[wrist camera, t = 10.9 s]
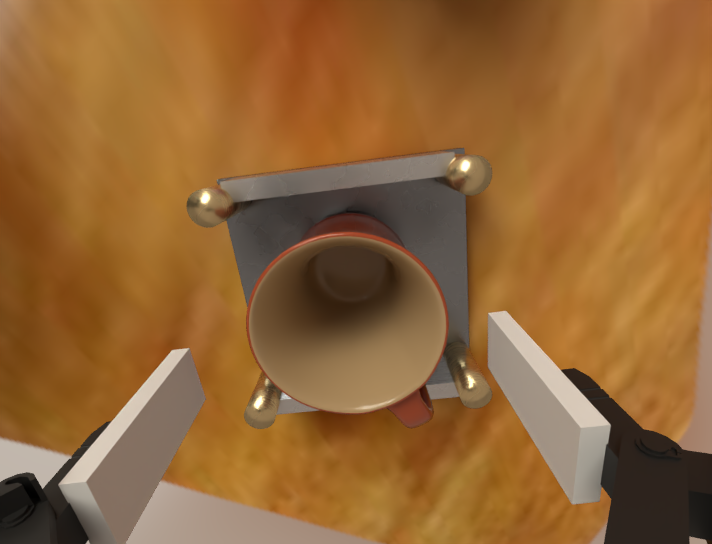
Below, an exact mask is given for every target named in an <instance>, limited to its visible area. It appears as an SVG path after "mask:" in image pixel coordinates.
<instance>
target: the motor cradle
mask: <svg viewBox="0 0 712 544" xmlns="http://www.w3.org/2000/svg"><path fill="white" fill-rule="evenodd" d="M491 178H492V168H491V165H490V163H489V162H488V161H487V160H486V159H485V158H484V157H482V156H478V155H467V154H465V153H464V148H456V149H448V150H440V151H433V152H425V153H417V154H409V155H402V156H394V157H386V158H378V159H370V160H363V161H355V162H347V163H339V164H331V165H324V166H316V167H308V168H300V169H293V170H285V171H277V172H269V173H261V174H254V175H246V176H238V177H230V178H223V179H218V180H217V183H218V185H216V186H212V187H208V188H205V189H201V190H198V191H195V192H194V193H192V194H191V195H190V197H189V198H188V201H187V211H188V214H189V216H190V218H191V219H192V220H193V221H194V222H195V223H196V224H198V225H200V226H202V227H214V226H216V225H218V224H220V223H222V222H224V221H225V220H227V224H228V228H229V233H230V237H231V241H232V245H233V249H234V253H235V257H236V261H237V266H238V270H239V274H240V278H241V282H242V286H243V290H244V294H245V299H246V303H247V307H248V304H249V300H250V296H251V293H252V291H253V289H254V286H255V284H256V282H257V281H258V279H259V277H260V276H261V274H262V273H263V272H264V270H265V269H266V268H267V266H268V265H269V264H270V263H271V262H272V261H273V260H274V259H275V258H277V257H278V256H279V255H280V254H281V253H283V252H284V251H286V250H287V249H288V248H290V247H292V246H293V245H295V244H297V243H299V241H300V240H301V238H302V237H303V236H304V234H305V233H306V232H307V231H308V230H309V229H310V228H311V227H313V226H314V225H315V224H317V223H318V222H320V221H322V220H324V219H325V218H328V217H330V216H333V215H336V214H341V213H360V214H365V215H368V216H371V217H374V218H376V219H378V220H380V221H381V222H383V223H384V224H386V225H387V226H389V227H390V228H391V229H392V230H393V231H394V232H395V233H396V234H397V235H398V236H399V238H400V239H401V241H402V242H403V244H404V246H405V248H406V249H407V250H408V251H410V252H411V253H412V254H413V255H415V256H416V257H417V258H418V259H419V260H420V261H421V262H422V263H423V264H424V265H425V266H426V267H427V268H428V269H429V270H430V272H431V273H432V274H433V276H434V277H435V279H436V280H437V282H438V284H439V286H440V288H441V290H442V292H443V295H444V298H445V301H446V305H447V310H448V317H449V330H448V338H447V344H446V347H445V350H444V353H443V355H442V358H441V360H440V362H439V364H438V366H437V368H436V370H435V371H434V373H433V374H432V376H431V377H430V379H429V380H428V381H427V383H426V387H427V390H428V393H429V396H430V399H441V398H452V397H460V399H461V402H462V403H463V404H464V405H465V406H467V407H469V408H481V407H483V406H485V405H486V404H488V403H489V401H490V400H491V398H492V390H491V388H490V387H489V385H488V383H487V381H486V379H485V377H484V376H483V374H482V372H481V370H480V368H479V366H478V365H477V363H476V361H475V359H474V357H473V355H472V354H471V352H470V350H469V324H468V281H467V238H466V196H465V195H476V194H479V193H481V192H482V191H484V190H485V189H486V188H487V187H488V185H489V184H490V181H491ZM308 411H318V410H317V409H314V408H311V407H309V406H306V405H304V404H301V403H299V402H298V401H296V400H294V399H292V398H290V397H289V396H287V395H286V394H284V393H283V392H282V391H281V390H279V389H278V388H277V387H276V386H275V385H274V384H273V383H272V382H271V381H270V380H269V379H268V378H267V377H266V376H265V374H264V373H263V372H262V373H261V375H260V377H259V380H258V382H257V384H256V387H255V389H254V391H253V394H252V396H251V398H250V401H249V403H248V405H247V408H246V410H245V413H244V418H245V420H246V422H247V423H248V424H249V425H250V426H252V427H254V428H257V429H265V428H268V427H270V426H271V425H272V424H273V423H274V420H275V417H276V415H277V414H287V413H297V412H308Z"/></svg>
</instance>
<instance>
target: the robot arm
mask: <svg viewBox="0 0 712 544" xmlns="http://www.w3.org/2000/svg"><path fill="white" fill-rule="evenodd" d="M488 368H489V370H490V371H491V373H492V374H493V376H494V378H495V379H496V381H497V383H498V384H499V386H500V388H501V389H502V391H503V392H504V394H505V396H506V397H507V399H508V401H509V402H510V404H511V405H512V407H513V409H514V410H515V412H516V414H517V415H518V417H519V419H520V420H521V422H522V423H523V425H524V427H525V428H526V430H527V432H528V433H529V435H530V436H531V438H532V440H533V441H534V443H535V445H536V446H537V448H538V449H539V451H540V453H541V454H542V456H543V458H544V459H545V461H546V463H547V464H548V466H549V467H550V469H551V471H552V472H553V474H554V476H555V477H556V479H557V480H558V482H559V484H560V485H561V487H562V489H563V490H564V492H565V494H566V495H567V497H568V498H569V500H570V502H571V503H572V504H581V503H590V502H599V501H600V494H601V487H603V488H604V490H605V491H606V492H607V494H608V495H609V496H610V498H611V499H612V500H611V506H610V511H609V517H608V523H607V529H606V535H605V542H604V544H689V536H691V537H695V538H700V539H705V540H706V541H707V544H712V454H707V453H700V452H693V451H687V450H683V449H682V448H681V447H680V446H679V445H678V444H677V443H676V442H674V441H672V440H671V439H669V438H668V437H666V436H664V435H661V434H659V433H657V432H654V431H649V430H644V429H642V428H641V427H640V426H639V425H638V424H637V423H636V422H635V421H634V420H633V419H632V418H631V417H630V416H629V415H628V414H627V413H626V412H625V411H624V410H623V409H622V408H621V407H620V406H619V405H618V404H617V403H616V402H615V401H614V400H613V399H612V398H609V395H608V394H607V393H606V392H605V391H604V390H603V389H601V388H600V386H599V385H598V384H597V383H596V382H595V381H594V380H592V379H591V378H590V377H589V376H587V375H586V374H584V373H582V372H580V371H578V370H577V369H575V368H573V369H564V370H560V369H559V368H558V367H557V366H556V365H555V364H554V363H553V362H552V360H551V359H550V358H549V357H548V356H547V355H546V354H545V353H544V352H543V351H542V350H541V349H540V347H539V346H538V345H537V344H536V343H535V342H534V341H533V340H532V339H531V338H530V337H529V336H528V334H527V333H526V332H525V331H524V330H523V329H522V328H521V327H520V326H519V325H518V324H517V322H516V321H515V320H514V319H513V318H512V317H511V316H510V315H509V314H508V313H507V312H506V311H501V312H493V313H488ZM205 400H206V398H205V395H204V392H203V389H202V386H201V383H200V380H199V376H198V373H197V370H196V367H195V364H194V361H193V358H192V355H191V352H190V349H189V348H186V349H178V350H172V351H171V352H170V353H169V355H168V356H167V357H166V358H165V359H164V361H163V362H162V363H161V364H160V365H159V366H158V368H157V369H156V370H155V371H154V372H153V373H152V375H151V376H150V377H149V378H148V379H147V381H146V382H145V383H144V384H143V385H142V386H141V388H140V389H139V390H138V391H137V392H136V393H135V395H134V396H133V397H132V398H131V399H130V401H129V402H128V403H127V404H126V405H125V406H124V408H123V409H122V410H121V411H120V412H119V414H118V415H117V416H116V417H115V418H114V419H113V421H111V422H106V423H105V424H104V425H102V426H101V427H100V428H98V429H97V430H96V431H94V432H93V433H92V434H91V435H90V436H89V437H88V438H87V439H86V440H85V442H84V443H83V444H82V445H81V448H78V450H77V451H76V452H75V453H74V454H73V455H72V458H71V459H69V460H68V461H67V462H66V463H65V464H64V465H63V467H62V468H61V469H60V470H59V471H58V473H56V474H55V476H54V477H53V478H52V479H51V480H50V481H49V482H48V484H47V485H46V486H45V487H44V488H43V489H42V488H41V486H40V484H39V482H38V481H37V479H36V477H35V475H34V474H32V473H22V474H17V475H14V476H12V477H10V478H7V479H5V480H3V481H1V482H0V544H86V542H87V541H88V540H89V542H90V544H125V543H126V541H127V540H128V538H129V536H130V534H131V532H132V531H133V529H134V527H135V525H136V523H137V522H138V520H139V518H140V516H141V514H142V512H143V511H144V509H145V507H146V505H147V503H148V502H149V500H150V498H151V497H152V494H153V493H154V491H155V489H156V488H157V486H158V484H159V482H160V480H161V479H162V477H163V475H164V473H165V471H166V470H167V468H168V466H169V464H170V462H171V461H172V459H173V457H174V455H175V453H176V452H177V450H178V448H179V446H180V445H181V443H182V441H183V439H184V437H185V436H186V434H187V432H188V430H189V428H190V427H191V425H192V423H193V421H194V419H195V418H196V416H197V414H198V412H199V410H200V409H201V407H202V405H203V403H204V401H205Z"/></svg>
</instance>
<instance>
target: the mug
mask: <svg viewBox="0 0 712 544" xmlns="http://www.w3.org/2000/svg"><path fill="white" fill-rule="evenodd" d="M246 329H247V336H248V341H249V345H250V348H251V351H252V354H253V356H254V358H255V360H256V362H257V364H258V365H259V367H260V369H261V370H262V372H263V373H264V374H265V376H266V377H267V378H268V379H269V380H270V381H271V382H272V383H273V384H274V385H275V386H276V387H277V388H278V389H279V390H281V391H282V392H283V393H284V394H286V395H287V396H289V397H290V398H292V399H294V400H296V401H298V402H299V403H301V404H304V405H306V406H309V407H311V408H314V409H317V410H321V411H326V412H331V413H339V414H366V413H371V412H375V411H378V410H381V409H384V408H387V409H389V410H390V411H391V412H392V413H393V414H394V415H395V416H396V417H397V418H398V419H399V420H400V422H401V423H402V424H403V425H404V426H406V427H408V428H416V427H419V426H421V425H423V424H425V423H427V422H429V421H430V420H431V419H432V418H433V414H434V411H433V406H432V402H431V399H430V396H429V393H428V390H427V387H426V383H427V381H428V380H429V379H430V377H431V376H432V374H433V373H434V371H435V370H436V368H437V366H438V364H439V362H440V360H441V358H442V355H443V353H444V350H445V347H446V344H447V338H448V330H449V317H448V310H447V305H446V301H445V298H444V295H443V292H442V290H441V288H440V286H439V284H438V282H437V280H436V279H435V277H434V276H433V274H432V273H431V272H430V270H429V269H428V268H427V267H426V266H425V265H424V264H423V263H422V262H421V261H420V260H419V259H418V258H417V257H416V256H415V255H413V254H412V253H411V252H410V251H408V250H407V249H406V248H405V246H404V244H403V242H402V241H401V239H400V238H399V236H398V235H397V234H396V233H395V232H394V231H393V230H392V229H391V228H390V227H389V226H387V225H386V224H384V223H383V222H381V221H380V220H378V219H376V218H374V217H371V216H368V215H365V214H360V213H341V214H336V215H333V216H330V217H328V218H325V219H324V220H322V221H320V222H318V223H317V224H315V225H314V226H313V227H311V228H310V229H309V230H308V231H307V232H306V233H305V234H304V236H303V237H302V238H301V240H300V241H299V243H297V244H295V245H293V246H292V247H290V248H288V249H287V250H286V251H284V252H283V253H281V254H280V255H279V256H278V257H277V258H275V259H274V260H273V261H272V262H271V263H270V264H269V265H268V266H267V268H266V269H265V270H264V272H263V273H262V274H261V276H260V277H259V279H258V281H257V282H256V284H255V286H254V289H253V291H252V293H251V296H250V300H249V304H248V308H247V317H246Z"/></svg>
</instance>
